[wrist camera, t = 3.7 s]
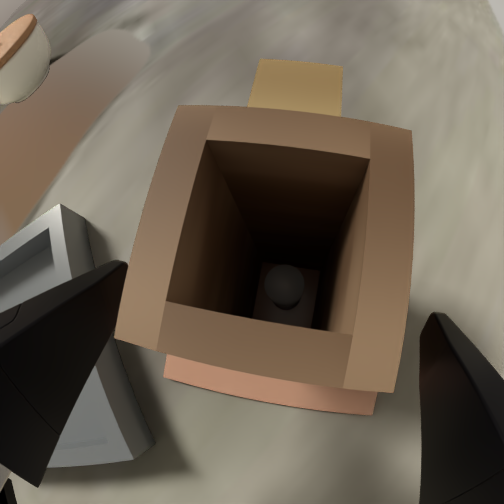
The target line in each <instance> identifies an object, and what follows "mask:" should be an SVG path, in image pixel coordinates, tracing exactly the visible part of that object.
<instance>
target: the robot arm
mask: <svg viewBox="0 0 504 504" xmlns="http://www.w3.org/2000/svg"><path fill="white" fill-rule="evenodd" d="M127 270H128V264H127V263H126V262H124V261H119V260H113V261H111V262H109V263H106V264H104V265H102V266H100V267H97V268H95V269H93V270H91V271H88V272H86V273H84V274H82V275H80V276H77V277H75V278H73V279H71V280H69V281H66V282H64V283H62V284H60V285H58V286H56V287H53V288H51V289H49V290H47V291H45V292H43V293H41V294H39V295H37V296H34V297H32V298H30V299H28V300H26V301H24V302H23V303H20V304H18V305H16V306H14V307H12V308H10V309H7V310H5V311H3V312H1V313H0V504H17V501H16V498H15V494H14V490H13V485H12V481H11V480H10V479H9V478H8V477H9V475H10V473H11V472H13V473H15V474H16V475H18V476H19V477H21V478H22V479H24V480H26V481H27V482H29V483H30V484H32V485H34V486H35V487H37V488H38V487H39V485H40V483H41V481H42V478H43V476H44V473H45V471H46V468H47V466H48V464H49V461H50V459H51V457H52V454H53V452H54V450H55V447H56V445H57V443H58V441H59V438H60V436H61V434H62V431H63V429H64V427H65V425H66V423H67V421H68V418H69V416H70V414H71V412H72V410H73V408H74V406H75V404H76V402H77V400H78V398H79V396H80V394H81V392H82V390H83V388H84V386H85V384H86V382H87V380H88V378H89V376H90V374H91V372H92V370H93V368H94V366H95V364H96V362H97V361H98V359H99V357H100V355H101V353H102V351H103V349H104V347H105V346H106V344H107V342H108V340H109V338H110V336H111V335H112V333H113V331H114V329H115V327H116V323H117V318H118V313H119V308H120V303H121V298H122V293H123V288H124V283H125V279H126V274H127ZM419 389H420V407H421V439H422V455H421V486H420V501H419V504H504V380H503V378H502V377H501V376H500V375H499V374H498V372H497V371H496V370H495V369H494V367H493V366H492V365H491V364H490V363H489V362H488V360H487V359H486V358H485V357H484V356H483V355H482V353H481V352H480V351H479V350H478V349H477V348H476V347H475V345H474V344H473V343H472V342H471V341H470V340H469V339H468V338H467V336H466V335H465V334H464V333H463V332H462V331H461V330H460V329H459V328H458V327H457V326H456V324H455V323H454V322H453V321H452V320H451V319H450V318H449V317H448V316H447V315H446V314H445V313H439V312H433V313H431V314H430V316H429V318H428V320H427V322H426V324H425V326H424V328H423V330H422V332H421V334H420V373H419Z"/></svg>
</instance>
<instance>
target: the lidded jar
mask: <svg viewBox="0 0 504 504" xmlns="http://www.w3.org/2000/svg"><path fill="white" fill-rule="evenodd" d="M50 57H51V48H50V43H49V40H48V38H47V36H46V34H45V32H44V30H43V29H42V27H41V26H40V24H39V23H38V22H37V19H36V17H35V16H34V15H33V14H28V15H25V16H23V17H21V18H19V19H17V20H16V21H14V22H13V23H12V24H10V25H9V26H8V27H6V28H5V29H4V30H3V31H2V32H1V33H0V104H1V105H5V104H10V103H14V102H15V103H19V102H22V101H24V100H25V99H27V98H28V97H29V96H31V95H32V94H33V93H34V92H35V91H36V90H37V89H38V88H39V86H40V85H41V84H42V83H43V81H44V80H45V78H46V77H47V75H48V73H49V63H50Z"/></svg>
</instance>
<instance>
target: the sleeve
mask: <svg viewBox="0 0 504 504" xmlns="http://www.w3.org/2000/svg"><path fill="white" fill-rule="evenodd" d="M342 73H343V67H341V66H335V65H327V64H319V63H310V62H300V61H288V60H273V59H260V61H259V64H258V68H257V72H256V75H255V79H254V83H253V86H252V90H251V94H250V98H249V101H248V105H247V107H240V106H210V105H178V108H177V110H176V113H175V115H174V118H173V121H172V123H171V126H170V129H169V131H168V134H167V137H166V140H165V143H164V145H163V148H162V151H161V154H160V157H159V160H158V163H157V166H156V169H155V172H154V175H153V178H152V182H151V185H150V188H149V191H148V195H147V198H146V201H145V205H144V208H143V212H142V215H141V219H140V223H139V226H138V230H137V234H136V237H135V241H134V245H133V249H132V253H131V257H130V262H129V266H128V270H127V274H126V279H125V283H124V288H123V293H122V298H121V303H120V308H119V313H118V318H117V323H116V329H115V335H114V338H116V339H119V340H122V341H125V342H129V343H132V344H135V345H138V346H141V347H145V348H148V349H151V350H155V351H158V352H162V353H165V354H169V355H173V356H176V357H180V358H184V359H188V360H192V361H196V362H200V363H204V364H208V365H212V366H216V367H221V368H225V369H230V370H234V371H239V372H244V373H249V374H254V375H259V376H264V377H270V378H275V379H281V380H287V381H293V382H299V383H306V384H313V385H320V386H327V387H335V388H344V389H353V390H363V391H374V392H387V393H393V392H394V388H395V383H396V378H397V373H398V368H399V363H400V358H401V352H402V346H403V340H404V334H405V327H406V320H407V312H408V304H409V295H410V285H411V274H412V260H413V243H414V161H413V144H412V131H411V130H406V129H402V128H398V127H393V126H388V125H384V124H379V123H373V122H368V121H363V120H357V119H351V118H345V117H341V102H342ZM262 262H267V263H273V264H280V265H284V264H286V265H291V266H293V267H299V268H305V269H312V270H318V271H320V275H319V281H318V288H317V294H316V300H315V306H314V312H313V318H312V324H311V329H309V328H303V327H297V326H290V325H284V324H279V323H273V322H267V321H261V320H256V319H252V316H253V311H254V306H255V300H256V295H257V290H258V284H259V279H260V273H261V268H262Z"/></svg>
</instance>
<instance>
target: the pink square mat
mask: <svg viewBox="0 0 504 504" xmlns="http://www.w3.org/2000/svg"><path fill="white" fill-rule="evenodd" d="M319 275H320V271H318V270H312V269H305V268H299V267H293V266H291V265H286V264H284V265H280V264H273V263H267V262H262V268H261V273H260V279H259V284H258V290H257V295H256V300H255V306H254V311H253V316H252V319H256V320H261V321H267V322H273V323H279V324H284V325H290V326H297V327H303V328H309V329H311V324H312V318H313V312H314V306H315V300H316V294H317V288H318V281H319ZM163 377H165V378H169V379H172V380H175V381H179V382H183V383H186V384H190V385H194V386H197V387H201V388H205V389H209V390H213V391H217V392H221V393H226V394H230V395H235V396H239V397H244V398H249V399H254V400H259V401H264V402H269V403H275V404H281V405H287V406H293V407H299V408H306V409H313V410H321V411H329V412H338V413H348V414H359V415H372V414H373V410H374V406H375V402H376V397H377V393H378V392H374V391H363V390H353V389H344V388H335V387H327V386H320V385H313V384H306V383H299V382H293V381H287V380H281V379H275V378H270V377H264V376H259V375H254V374H249V373H244V372H239V371H234V370H230V369H225V368H221V367H216V366H212V365H208V364H204V363H200V362H196V361H192V360H188V359H184V358H180V357H176V356H173V355H169V354H167V358H166V364H165V370H164V376H163Z"/></svg>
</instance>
